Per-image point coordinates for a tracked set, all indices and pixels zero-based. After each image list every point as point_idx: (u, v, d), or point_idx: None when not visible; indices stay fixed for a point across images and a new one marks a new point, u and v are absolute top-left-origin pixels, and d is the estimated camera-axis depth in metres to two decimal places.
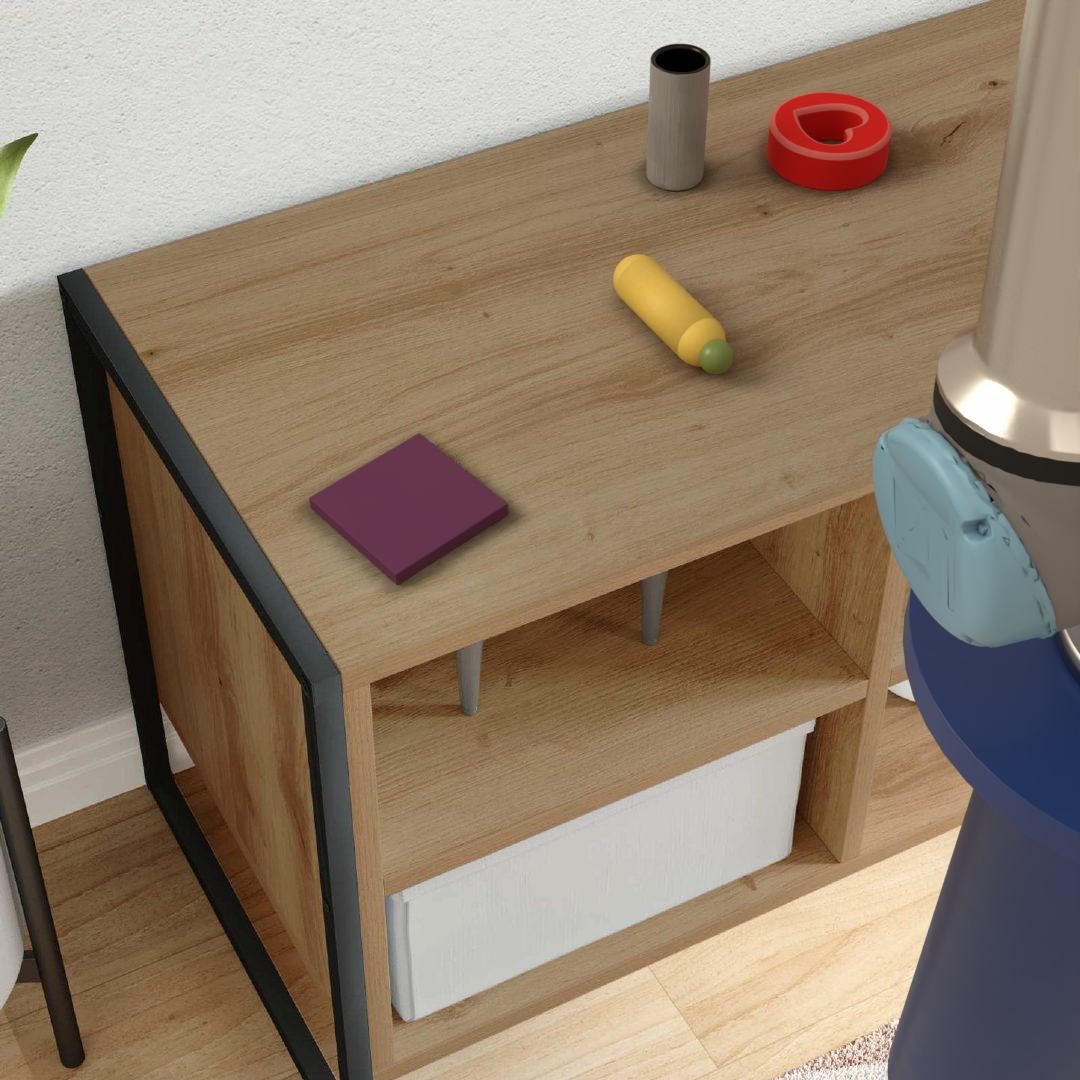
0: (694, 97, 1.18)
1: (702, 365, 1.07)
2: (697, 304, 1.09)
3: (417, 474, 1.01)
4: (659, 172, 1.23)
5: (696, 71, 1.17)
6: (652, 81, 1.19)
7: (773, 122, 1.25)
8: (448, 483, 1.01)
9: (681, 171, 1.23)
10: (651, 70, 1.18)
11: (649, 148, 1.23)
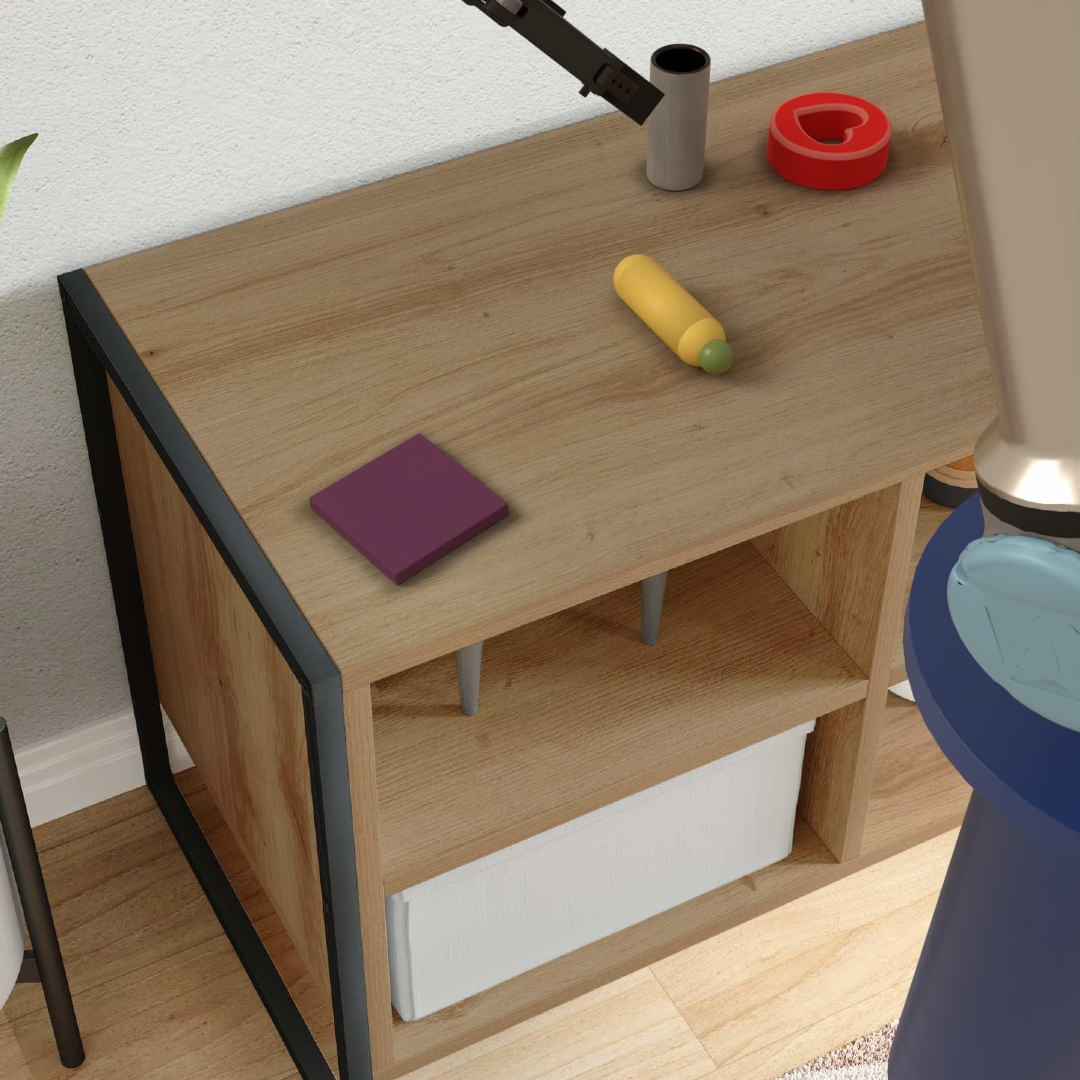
0: (694, 97, 1.18)
1: (702, 365, 1.07)
2: (697, 304, 1.09)
3: (417, 474, 1.01)
4: (659, 172, 1.23)
5: (696, 71, 1.17)
6: (652, 81, 1.19)
7: (773, 122, 1.25)
8: (448, 483, 1.01)
9: (681, 171, 1.23)
10: (651, 70, 1.18)
11: (649, 148, 1.23)
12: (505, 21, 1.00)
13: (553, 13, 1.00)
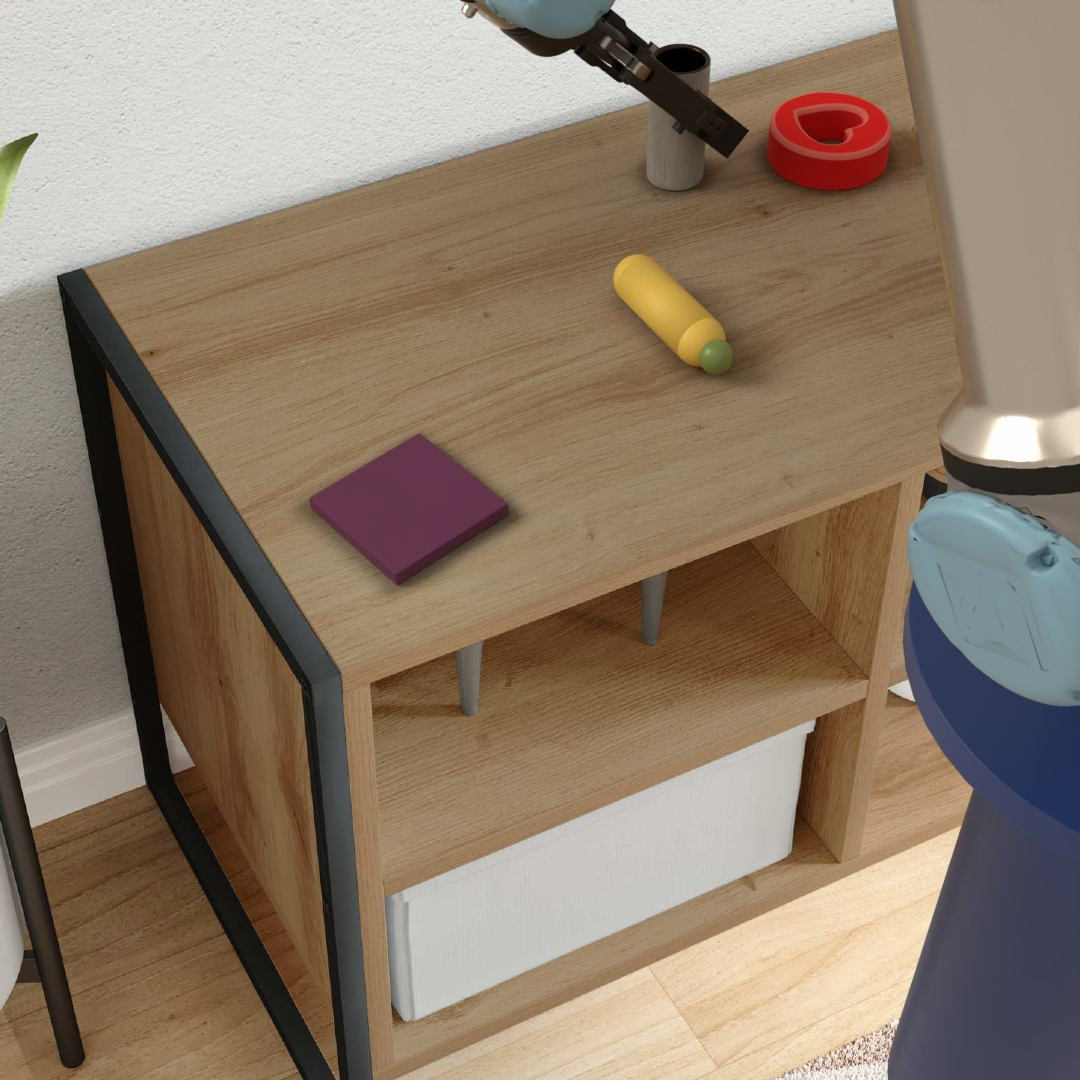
0: None
1: (702, 365, 1.07)
2: (697, 304, 1.09)
3: (417, 474, 1.01)
4: (659, 172, 1.23)
5: (696, 71, 1.17)
6: None
7: (773, 122, 1.25)
8: (448, 483, 1.01)
9: (681, 171, 1.23)
10: None
11: (649, 148, 1.23)
12: (637, 88, 1.10)
13: (673, 75, 1.11)
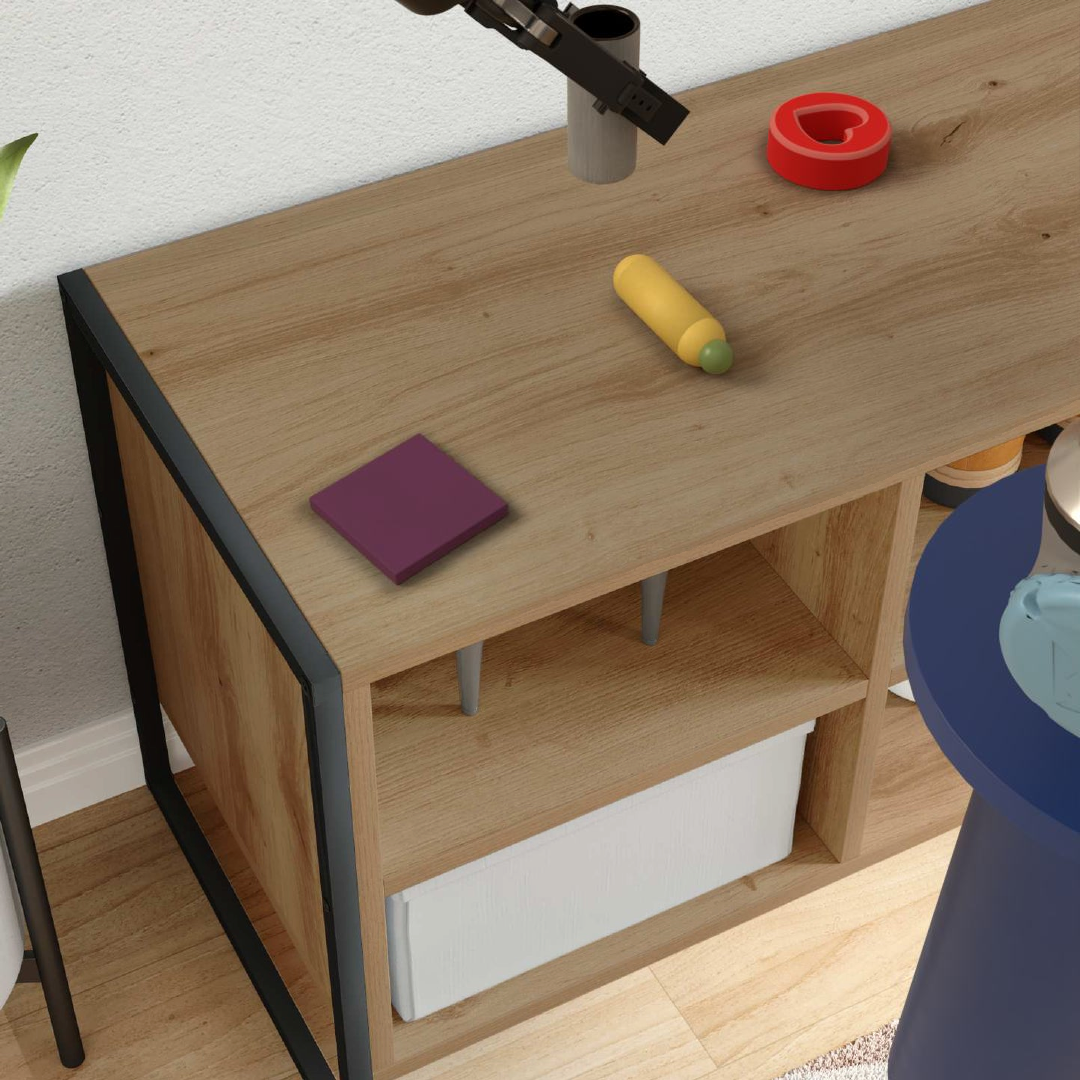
0: None
1: (702, 365, 1.07)
2: (697, 304, 1.09)
3: (417, 474, 1.01)
4: (581, 162, 1.02)
5: (621, 37, 0.95)
6: None
7: (773, 122, 1.25)
8: (448, 483, 1.01)
9: (607, 161, 1.01)
10: None
11: (568, 132, 1.01)
12: (540, 55, 0.88)
13: (586, 39, 0.89)
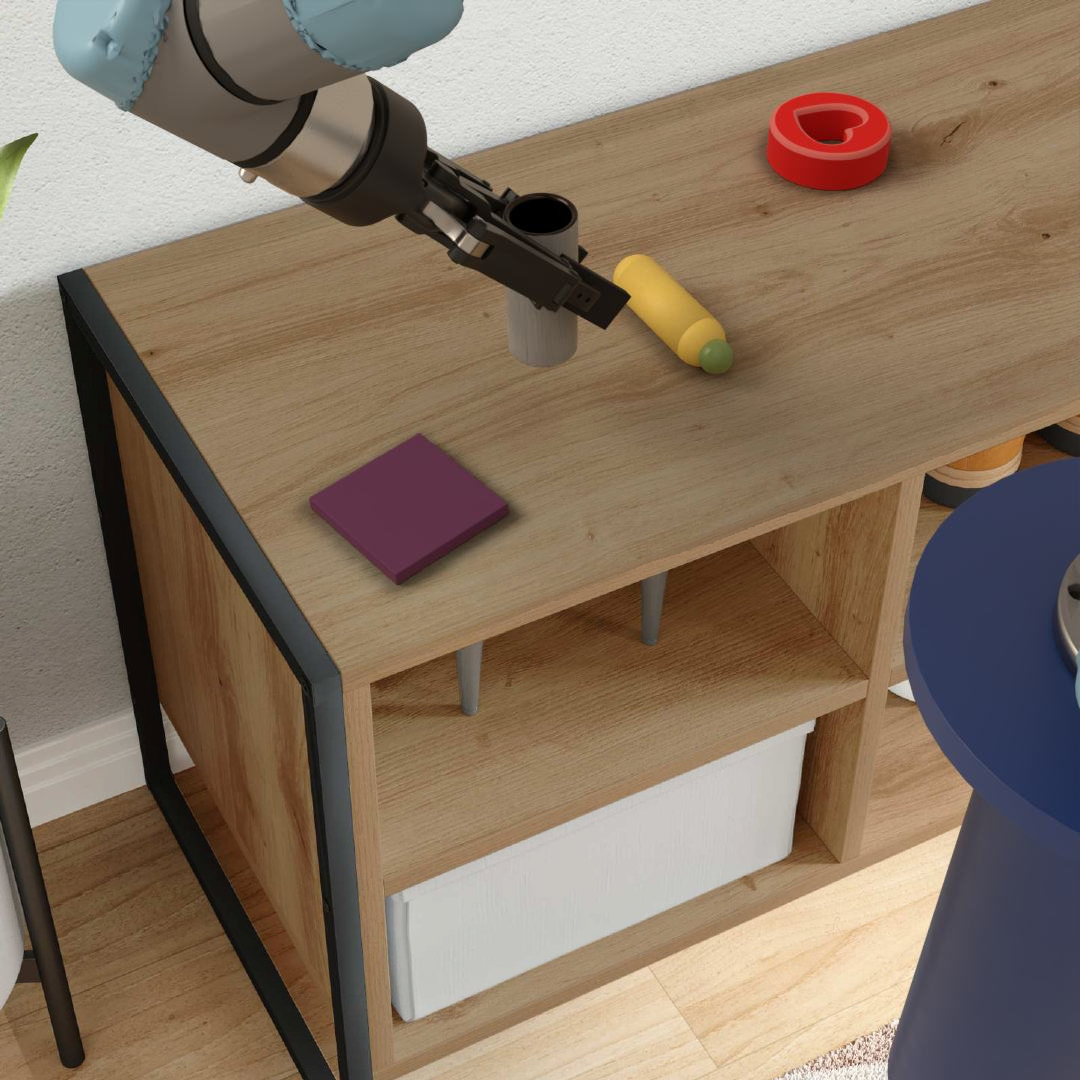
0: None
1: (702, 365, 1.07)
2: (697, 304, 1.09)
3: (417, 474, 1.01)
4: (521, 346, 1.00)
5: (558, 232, 0.93)
6: None
7: (773, 122, 1.25)
8: (448, 483, 1.01)
9: (547, 346, 0.99)
10: None
11: (507, 316, 0.99)
12: (471, 267, 0.86)
13: (519, 247, 0.87)
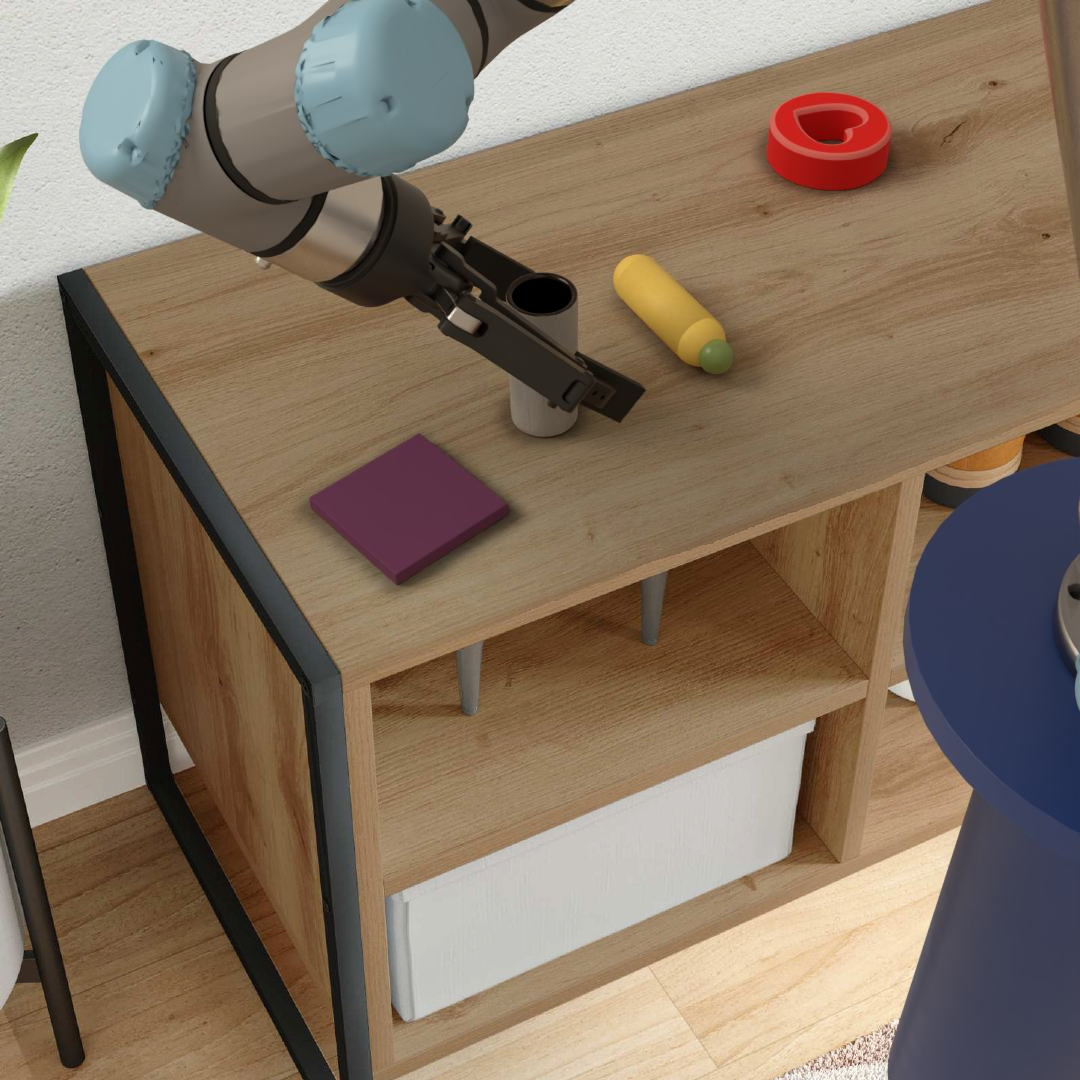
0: (558, 339, 0.99)
1: (702, 365, 1.07)
2: (697, 304, 1.09)
3: (417, 474, 1.01)
4: (523, 417, 1.04)
5: (559, 312, 0.98)
6: None
7: (773, 122, 1.25)
8: (448, 483, 1.01)
9: (549, 417, 1.04)
10: None
11: (510, 388, 1.04)
12: (462, 341, 0.88)
13: (516, 330, 0.89)
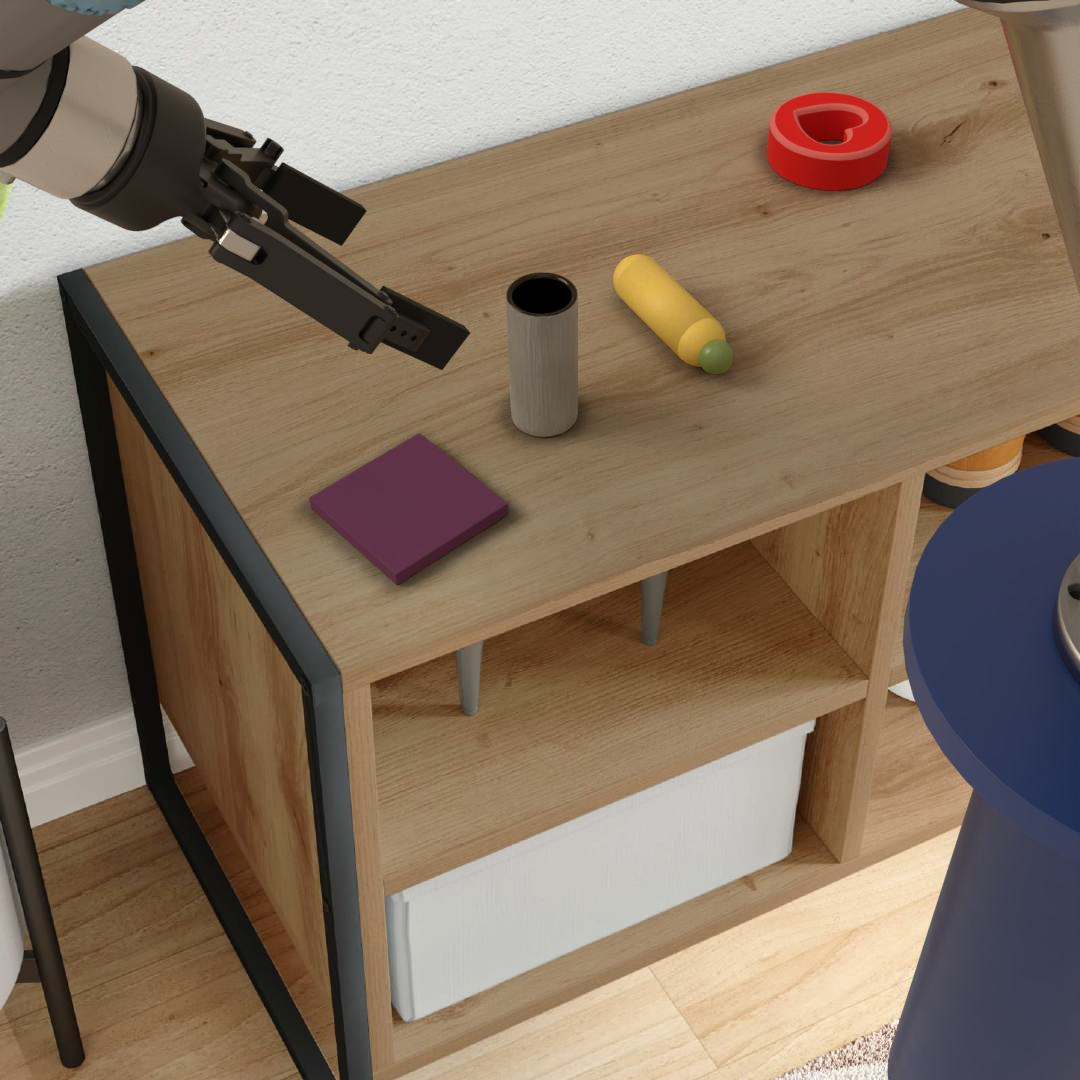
0: (558, 339, 0.99)
1: (702, 365, 1.07)
2: (697, 304, 1.09)
3: (417, 474, 1.01)
4: (523, 417, 1.04)
5: (559, 312, 0.98)
6: (508, 319, 0.99)
7: (773, 122, 1.25)
8: (448, 483, 1.01)
9: (549, 417, 1.03)
10: (507, 307, 0.99)
11: (510, 388, 1.04)
12: (237, 269, 0.78)
13: (301, 257, 0.78)
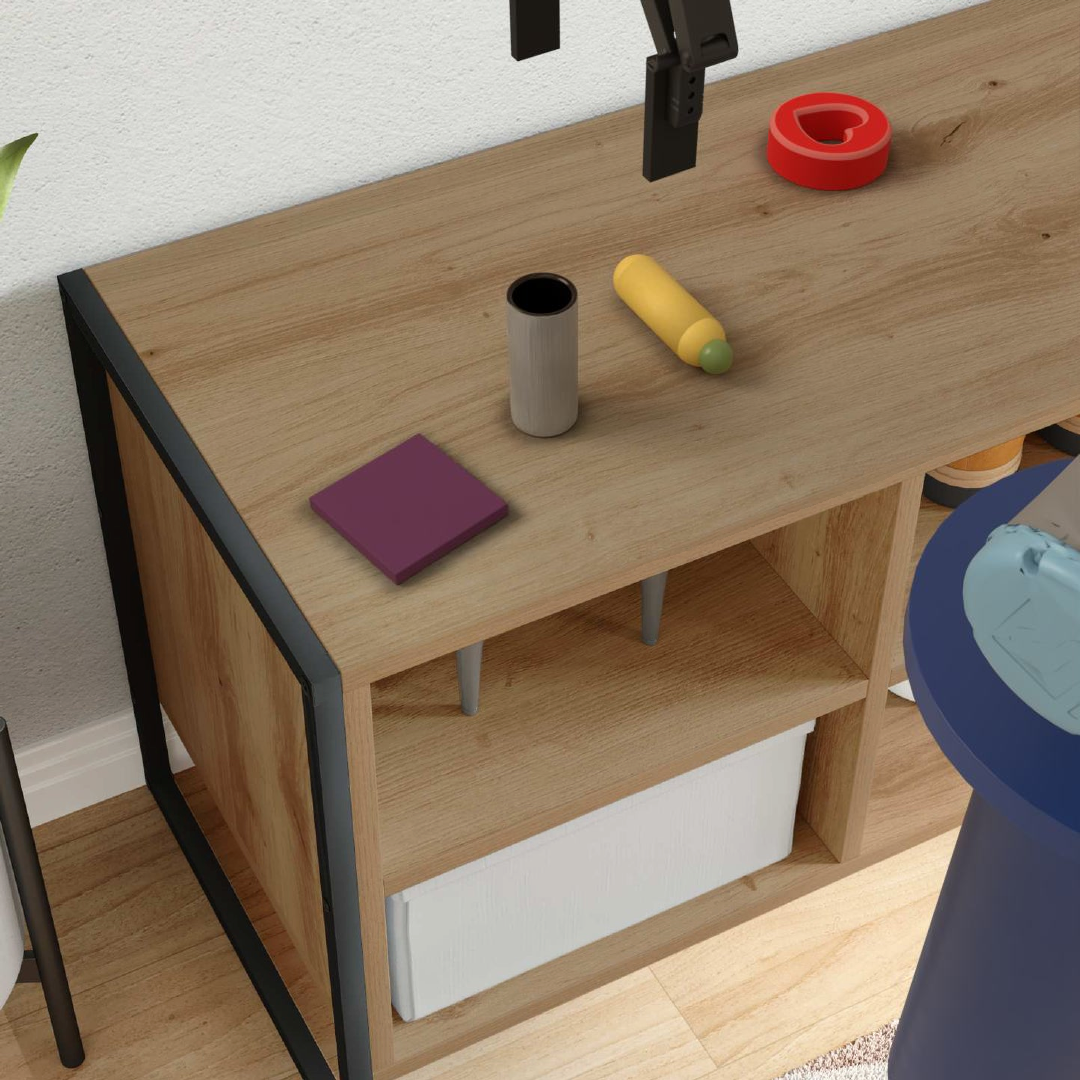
0: (558, 339, 0.99)
1: (702, 365, 1.07)
2: (697, 304, 1.09)
3: (417, 474, 1.01)
4: (523, 417, 1.04)
5: (559, 312, 0.98)
6: (509, 319, 0.99)
7: (773, 122, 1.25)
8: (448, 483, 1.01)
9: (549, 417, 1.04)
10: (507, 307, 0.99)
11: (510, 388, 1.04)
12: None
13: None
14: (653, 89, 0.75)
